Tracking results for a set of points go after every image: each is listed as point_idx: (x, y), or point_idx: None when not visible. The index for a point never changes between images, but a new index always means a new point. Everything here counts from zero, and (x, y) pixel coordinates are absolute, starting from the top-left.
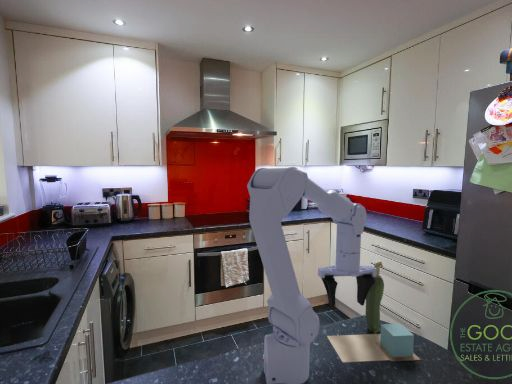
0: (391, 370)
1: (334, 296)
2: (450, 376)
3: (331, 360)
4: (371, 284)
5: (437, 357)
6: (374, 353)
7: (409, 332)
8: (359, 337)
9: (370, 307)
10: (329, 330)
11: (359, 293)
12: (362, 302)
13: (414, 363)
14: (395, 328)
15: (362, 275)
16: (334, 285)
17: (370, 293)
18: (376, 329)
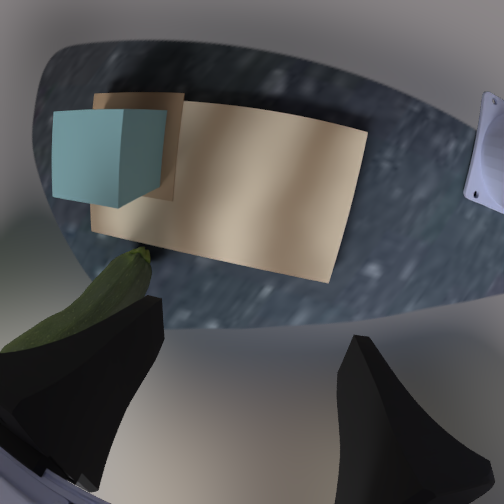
0: (202, 79)
1: (380, 384)
2: (74, 54)
3: (378, 176)
4: (11, 360)
5: (50, 124)
6: (214, 143)
7: (55, 130)
8: (210, 240)
9: (106, 314)
10: (280, 317)
11: (133, 368)
12: (148, 305)
13: None
14: (83, 164)
15: (47, 470)
16: (434, 463)
17: None
18: (130, 254)
